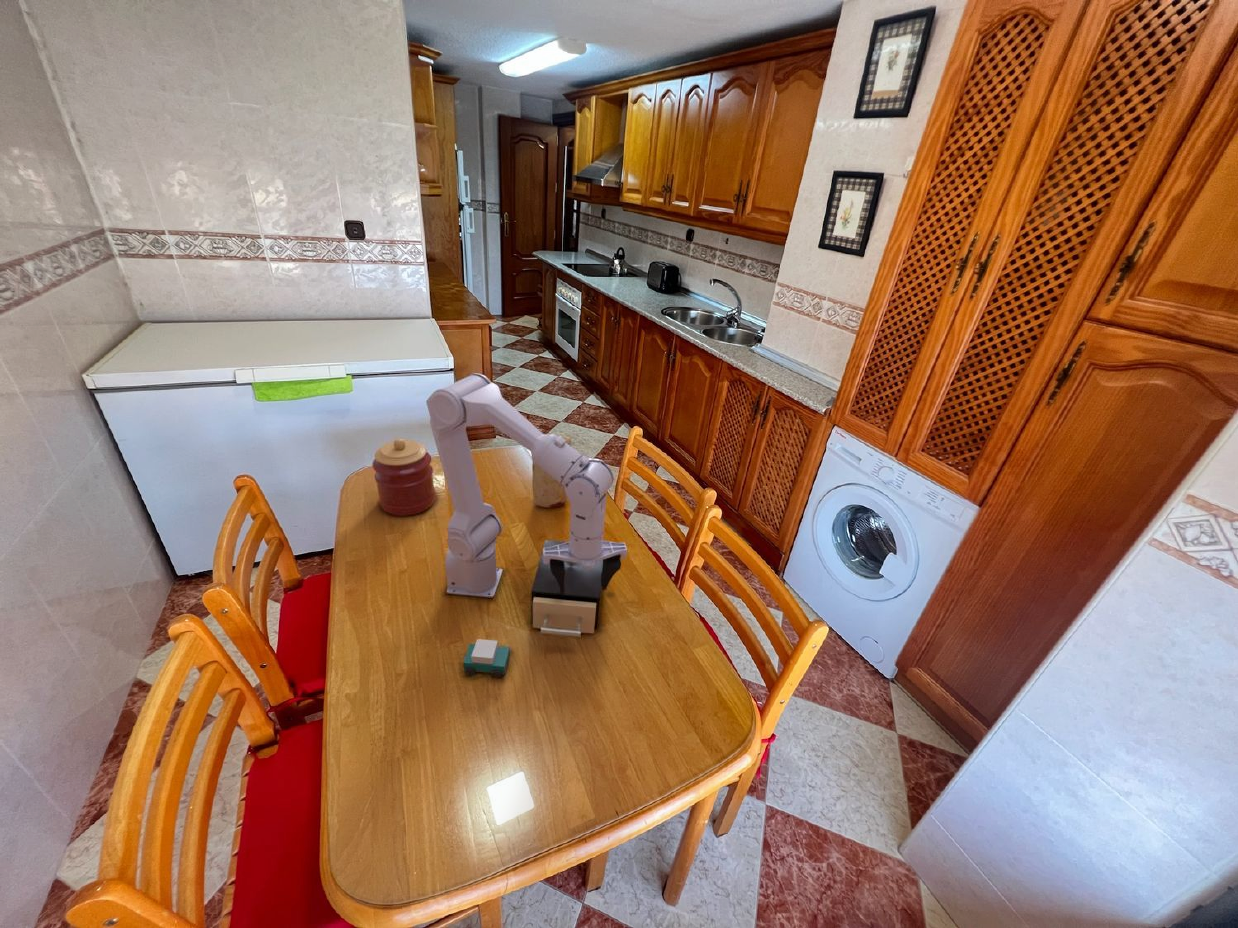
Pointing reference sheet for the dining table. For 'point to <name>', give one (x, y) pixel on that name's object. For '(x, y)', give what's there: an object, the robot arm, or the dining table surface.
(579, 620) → the drawer
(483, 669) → the toy car
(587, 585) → the black cabinet
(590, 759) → the dining table surface
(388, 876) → the dining table surface
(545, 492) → the food model
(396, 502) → the kitchen canister
